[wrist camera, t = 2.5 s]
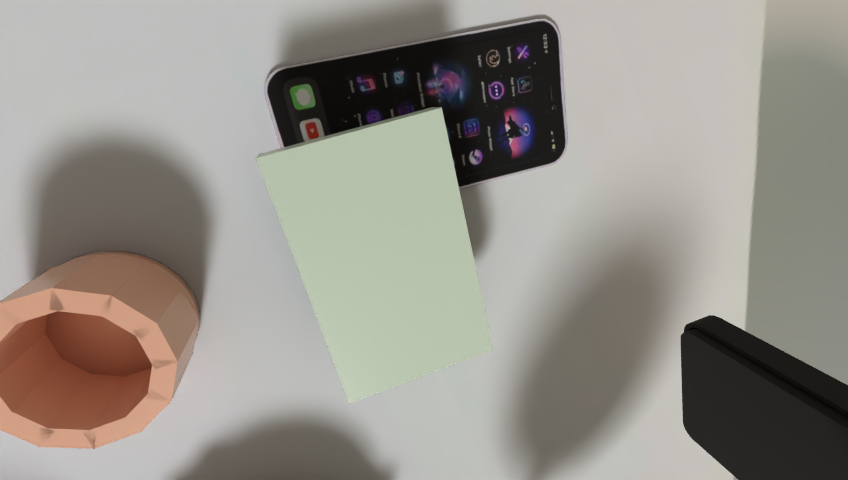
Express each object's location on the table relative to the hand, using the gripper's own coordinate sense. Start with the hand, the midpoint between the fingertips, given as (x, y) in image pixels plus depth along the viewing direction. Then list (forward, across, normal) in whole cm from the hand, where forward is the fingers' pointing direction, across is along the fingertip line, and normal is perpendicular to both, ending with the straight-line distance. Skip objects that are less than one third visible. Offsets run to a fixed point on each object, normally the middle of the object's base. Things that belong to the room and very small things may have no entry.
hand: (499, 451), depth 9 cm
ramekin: (+15, +14, 0) cm, 20 cm away
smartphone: (+16, -4, -5) cm, 17 cm away
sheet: (+12, 0, 0) cm, 12 cm away
